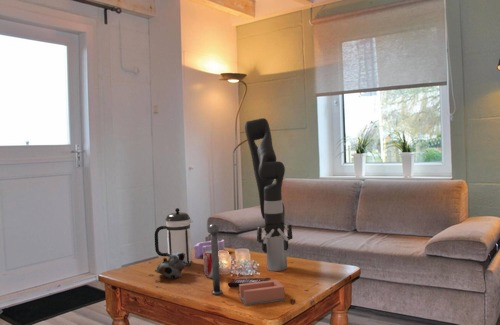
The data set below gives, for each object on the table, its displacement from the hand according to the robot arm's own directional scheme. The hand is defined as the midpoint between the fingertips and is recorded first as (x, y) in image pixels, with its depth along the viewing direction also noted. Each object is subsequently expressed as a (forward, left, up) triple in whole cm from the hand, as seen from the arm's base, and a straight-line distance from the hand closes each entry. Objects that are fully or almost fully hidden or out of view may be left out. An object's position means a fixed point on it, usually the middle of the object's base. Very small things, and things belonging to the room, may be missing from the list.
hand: (275, 251), depth 176 cm
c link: (+7, 0, -18) cm, 19 cm away
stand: (+23, -11, -18) cm, 31 cm away
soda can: (+21, -36, -18) cm, 46 cm away
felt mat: (+7, +1, -18) cm, 19 cm away
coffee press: (+35, -64, -18) cm, 76 cm away
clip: (+15, -79, -18) cm, 82 cm away
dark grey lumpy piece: (+40, -44, -18) cm, 62 cm away
